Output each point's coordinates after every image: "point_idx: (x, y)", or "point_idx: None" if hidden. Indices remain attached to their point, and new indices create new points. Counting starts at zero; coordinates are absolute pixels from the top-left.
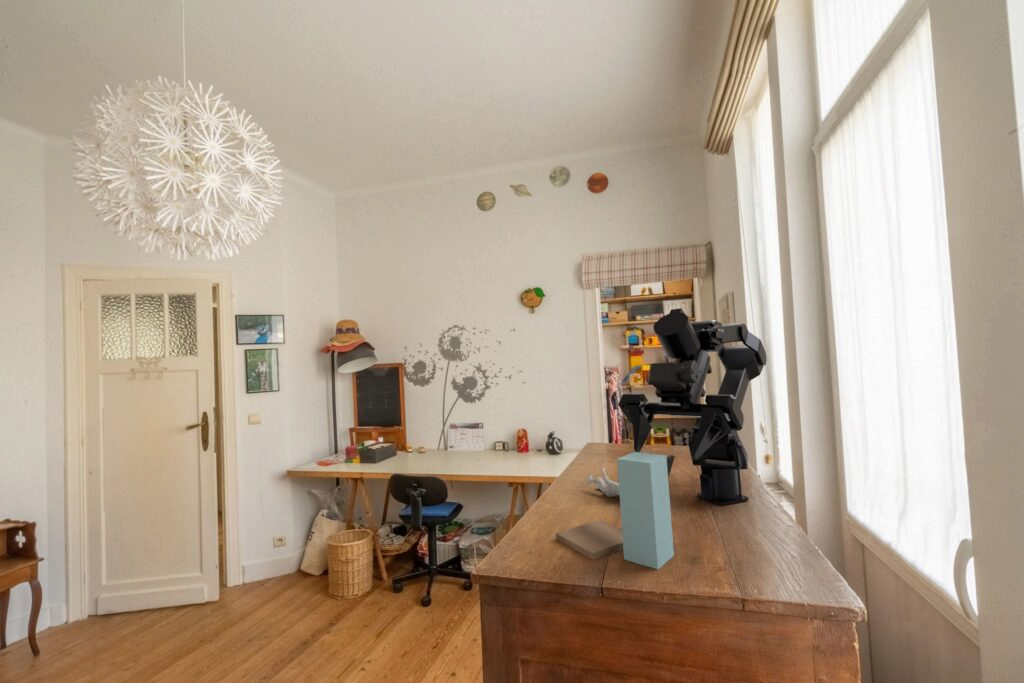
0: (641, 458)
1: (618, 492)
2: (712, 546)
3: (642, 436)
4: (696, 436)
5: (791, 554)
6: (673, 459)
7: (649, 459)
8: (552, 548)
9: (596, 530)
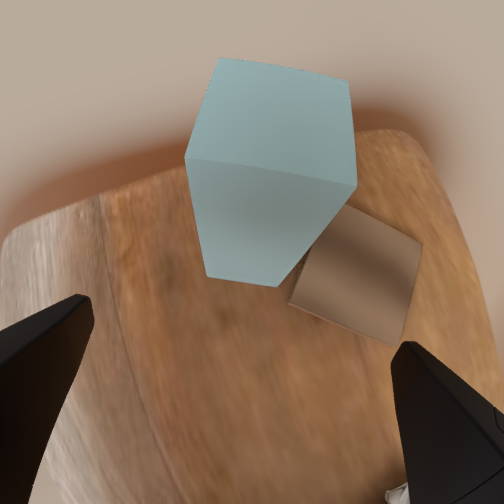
0: (271, 92)
1: None
2: (148, 351)
3: (429, 441)
4: (19, 350)
5: None
6: None
7: (236, 88)
8: (400, 214)
9: (376, 290)
